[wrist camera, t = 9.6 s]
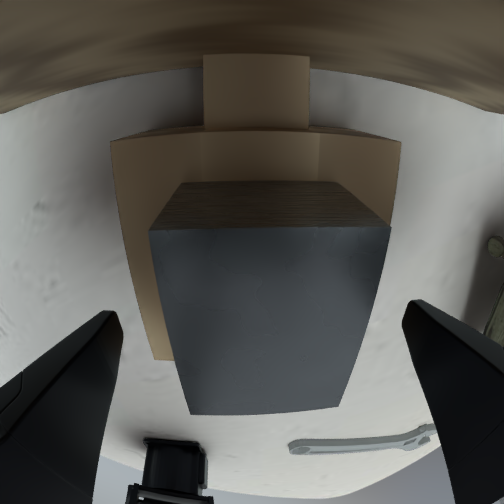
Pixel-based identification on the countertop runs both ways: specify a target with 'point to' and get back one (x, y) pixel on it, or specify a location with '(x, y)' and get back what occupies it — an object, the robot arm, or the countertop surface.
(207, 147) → the wooden desk organizer
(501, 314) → the tabletop clock
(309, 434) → the countertop surface
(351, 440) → the adjustable wrench
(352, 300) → the grey rectangular block
